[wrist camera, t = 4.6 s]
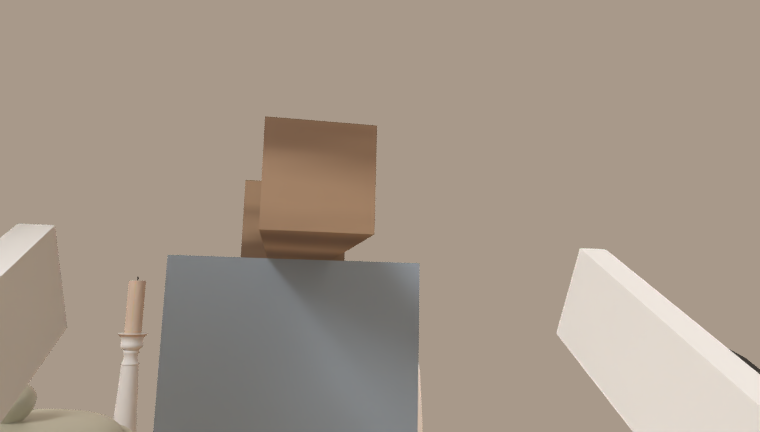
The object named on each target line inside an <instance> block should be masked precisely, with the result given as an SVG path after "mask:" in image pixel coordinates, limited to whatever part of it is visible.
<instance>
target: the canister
mask: <svg viewBox="0 0 760 432" xmlns="http://www.w3.org/2000/svg"><path fill="white" fill-rule="evenodd" d="M36 398H37V396H36V392H35V390H34V389H33V388H32V387H31V386H30V385H27V386H26V388H25V389H24V390H23V392H22V393H21V395H20V396H19V398H18V399H17V401H16V402H15V403H14V405H13V406H12V408H11V409H10V411H9V412H8V414H7V415H6V416H5V418H4V419H3V421H2V422H1V424H0V432H132V430H130V429H129V428H128V427H126V426H123V425H120V424H119V423H118V422H116V421H115V420H114V419H112V418H110V417H108V416H105V415H102V414H99V413H95V412H89V411H81V410H69V409H68V410H67V409H33V408H34V406H35V403H36Z"/></svg>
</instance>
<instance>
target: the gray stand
mask: <svg viewBox="0 0 760 432" xmlns="http://www.w3.org/2000/svg"><path fill="white" fill-rule="evenodd" d="M418 343H419V264H418V263H391V262H389V263H388V262H361V261H332V260H303V259H273V258H244V257H213V256H184V255H168V259H167V270H166V283H165V295H164V307H163V320H162V333H161V344H160V357H159V369H158V381H157V394H156V406H155V418H154V431H153V432H418V346H419V344H418Z"/></svg>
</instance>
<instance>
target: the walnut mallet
mask: <svg viewBox="0 0 760 432" xmlns="http://www.w3.org/2000/svg"><path fill="white" fill-rule="evenodd" d="M376 140H377V126H374V125H362V124H350V123H338V122H326V121H314V120H302V119H290V118H277V117H265V130H264V149H263V167H262V181H254V180H246V183H245V199H244V217H243V233H242V248H241V257H244V258H273V259H303V260H332V261H344V252H345V251H347V250H349V249H350V248H352V247H354V246H355V245H357V244H359V243H361V242H362V241H364V240H366V239H367V238H369V237H371V236H372V235H374V225H375V185H376V142H377V141H376Z"/></svg>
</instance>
